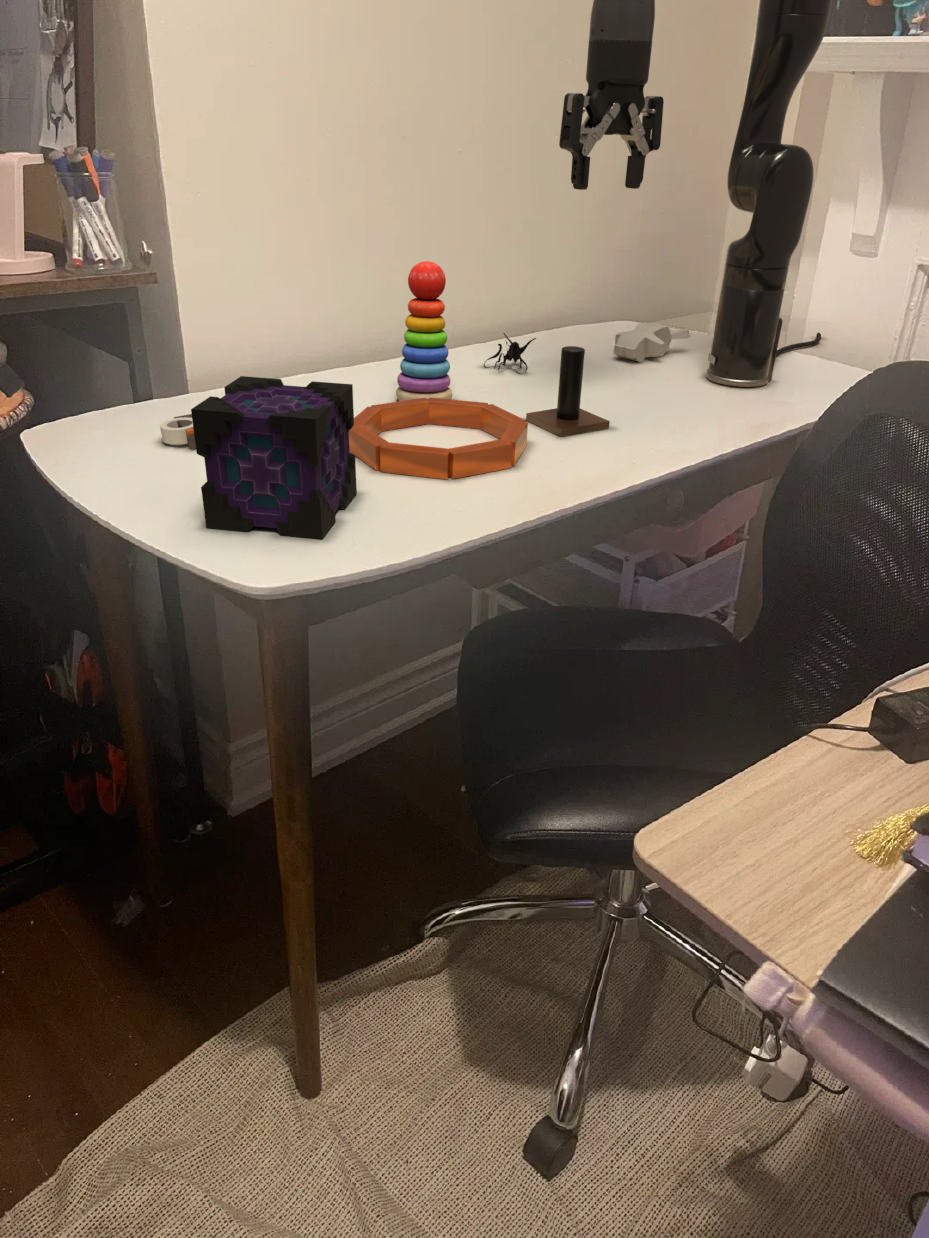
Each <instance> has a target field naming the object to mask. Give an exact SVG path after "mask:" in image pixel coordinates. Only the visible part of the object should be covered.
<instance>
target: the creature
mask: <svg viewBox="0 0 929 1238" xmlns="http://www.w3.org/2000/svg"><path fill="white" fill-rule="evenodd" d="M502 335H504V337H505V338H506V339H507V340H506V339H505V340H504V341H505V344H506V346H507V347H508V349H506V353H505V354H504V352H502V349H503V344H502V343H498V344H497V346H499V348H498V351H497V352H496V353H495V354H493V355H492V356H491V357H488V358H487V359H486V360H485V361H484V363H483V367H484V368H487V369H488V368H490V366H486V365H485V364H486V362H487V361H489V360H493V359H496V358H498V359H497V361H495V364H494V365H493V366H491V368H493V369H494V370H495V369H496V368H497V370H500V368H501V366H505V365H506V364H507V361H508V362H511V361H513V362H514V364H517V361H519V369H522V367H523V366H522V364H524V365H525V369H524V371H523V372H519V371H518V370H516V368H514V369H513V368H512V370H513V371H516V373H517V374H519V375H522V374H524V373H525V372H527V371H528V365H527V362H525V361H524V359H523V358H522V356H521V355H523V353H525V351H526V349H527V348H528V347H529V345H530V344H531V343H532V342H533V341H535V340H536V339H537V337H534V338H532V339H530V340H529V341H527V342H526V344H525V345H523V346H520V344H519V342H517V341H512V340H511V339H510V338H509V337H508V336H507V335H506V333H505V332H502ZM508 342H509V343H508ZM509 344H510V345H509ZM502 358H503V361H501V360H502ZM497 363H499V364H498V365H497Z"/></svg>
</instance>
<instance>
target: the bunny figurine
mask: <svg viewBox="0 0 929 1238" xmlns="http://www.w3.org/2000/svg"><path fill="white" fill-rule="evenodd" d="M614 338H615V339H614V340H615V341H614V345H613V355H615V356H616V357H618V358H622V359H626V360H631V361H636V362H639V363H643V362H644V360H645V358H650V357H653V358H658V357H664V356H665V354H666V353H667V352H668V350H669V347H670V345H671V344H672V341H673V340H683V339H685V340H686V339H690V338H691V333H690V330H689V328H680V329H675V330H672V331H670V326H668V325H665V324H662V323H658V322H655V323H652V322H648V321H643V322H640V323H638V324H637V325H636V326H635V327H634V329H632V330H627V331H621V332H617V333H616V334H615V337H614Z"/></svg>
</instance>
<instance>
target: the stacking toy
mask: <svg viewBox="0 0 929 1238" xmlns="http://www.w3.org/2000/svg"><path fill="white" fill-rule="evenodd" d="M446 278H447V277H446V275H445V271H444V270H443V268H442V267H441V266H440V265H439V264H437V263H435V262H434V261H429V260H425V261H420V262H418V263H416V264H415V265H413V267H411V269H410V271H409V273H408V277H407V283H408V288H409V291H410V292H411V294H412V295H413V296H414V298H412V299H410V300H409V301H408V303H407V310H408V313H410V314H409V315H407V316H406V318H405V320H404V325H405V327H406V329H407V330H405V332H404V334H403V339H404V342H405V344H404V345H403V347H402V349H401V354H402V357H403V358H402V359H401V361H400V364H399V368H400V373H399V374H398V375H397V379H396V382H397V384H398V387H397V389H396V392H395V396H396V399H397V400H398V401H405V400H412V399H419V398H426V399H429V398H441V399H451V400H452V398H453V391H452V388H450V386H451V377H450V375H449V374H448V373H449V372H450V369H451V365H450V364H451V363H450V362H449V360H448V357H449V349H448V347H447V345H446V343H447V341H448V334H447V332H446V331H445V330H444V329H445V327H446V320H445V318H444V317H443V316H442V315H443V314H444V312H445V309H446V306H445V303H444V301H443V300H442V299H439V297H440V296H441V295H442V294H443V293H444V290H445V288H446V283H447V281H446Z"/></svg>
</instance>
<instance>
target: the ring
mask: <svg viewBox="0 0 929 1238" xmlns="http://www.w3.org/2000/svg"><path fill="white" fill-rule="evenodd" d="M528 422H529V421H527V420H526V419H524V418H522V417H520V416H518V415H516V414H514V413H511V412H510V411H508V410H506V409H504V408H501V407H499V406H497V405H495V404H493V403H490V404H489V402H481V401H473V400H462V399H452V398H451V399H441V398H429V399H426V398H419V399H412V400H405V401H399V400H398V401H392V402H385V403H378V404H372V405H370V406H367V407H365V408H364V409H363V410H362V411H361V412H359V413H358V414H357V415H356V416H354V426H353V427H352V428H351V429H350V430H349V450H350V454H352V455H354V456H355V458H357V459H359V460H360V461H362V462H363V463H365V464H366V465H368V466H369V467H370V468H372V469H373V470H374V471H380V473H386V474H393V475H404V476H413V477H422V478H431V479H439V480H448V479H449V478H450V479H452V480H456V479H460V478H461V479H463V478H467V477H471V476H477V475H481V474H487V473H491V472H497V471H502V470H507V469H511V468H512V467H515V466H516V464H517V463H518V461H519V459H520V457H521V455H522V454H523V452H524V450H525V448H526V447H527V442H528V425H529V423H528ZM423 425H437V426H445V427H446V426H448V427H456V428H458V427H459V428H466V429H475V430H476V429H478V430H482V431H484V432H485V433H487V434H490V435H491V436H492V437H495V438H497V439H494V440H489V441H484V442H478V443H472V444H465V445H461V446H455V447H450V448H445V447H438V446H437V447H436V446H427V445H418V444H417V445H416V444H408V443H398V442H389V441H387V440H386V439H384V438H383V437H382V436H380V435H379V434H380V433H382V432H386V431H393V430H399V429H405V428H406V429H407V428H411V427H417V426H423Z"/></svg>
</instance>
